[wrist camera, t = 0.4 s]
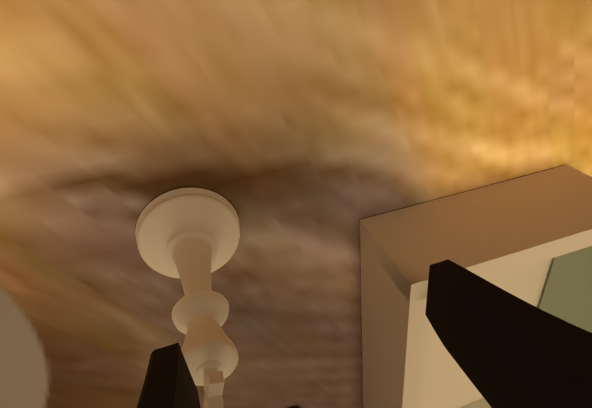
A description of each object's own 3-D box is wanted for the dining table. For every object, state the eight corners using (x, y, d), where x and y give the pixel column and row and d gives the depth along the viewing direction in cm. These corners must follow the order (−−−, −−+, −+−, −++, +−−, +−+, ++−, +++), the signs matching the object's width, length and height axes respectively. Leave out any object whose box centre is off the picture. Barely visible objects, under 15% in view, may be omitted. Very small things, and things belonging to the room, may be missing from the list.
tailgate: (521, 383, 35) (570, 439, 31) (513, 386, 35) (561, 443, 31) (583, 199, 25) (667, 247, 21) (572, 202, 25) (654, 251, 21)
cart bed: (504, 378, 38) (552, 436, 33) (363, 431, 35) (395, 502, 30) (566, 164, 26) (655, 209, 21) (359, 219, 23) (411, 284, 18)
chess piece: (134, 273, 20) (125, 486, 12) (135, 184, 18) (125, 374, 10) (233, 269, 22) (282, 454, 14) (245, 188, 20) (312, 352, 12)
